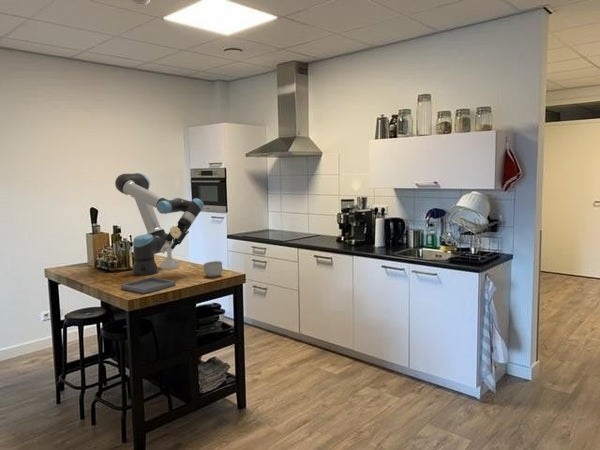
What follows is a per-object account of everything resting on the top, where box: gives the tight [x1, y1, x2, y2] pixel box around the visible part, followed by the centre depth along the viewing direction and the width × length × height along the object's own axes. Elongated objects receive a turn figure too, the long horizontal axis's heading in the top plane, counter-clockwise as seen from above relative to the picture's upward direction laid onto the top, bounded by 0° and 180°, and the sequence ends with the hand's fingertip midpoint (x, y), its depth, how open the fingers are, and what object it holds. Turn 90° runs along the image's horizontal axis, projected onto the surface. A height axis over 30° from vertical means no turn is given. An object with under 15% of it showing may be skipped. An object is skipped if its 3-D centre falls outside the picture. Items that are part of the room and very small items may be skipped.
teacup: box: [203, 260, 223, 278], centre depth 274 cm, size 14×11×8 cm
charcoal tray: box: [120, 276, 176, 295], centre depth 249 cm, size 20×20×2 cm
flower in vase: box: [159, 225, 182, 271], centre depth 266 cm, size 13×11×25 cm
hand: (164, 252), depth 263 cm, fingers open, 4 cm apart
